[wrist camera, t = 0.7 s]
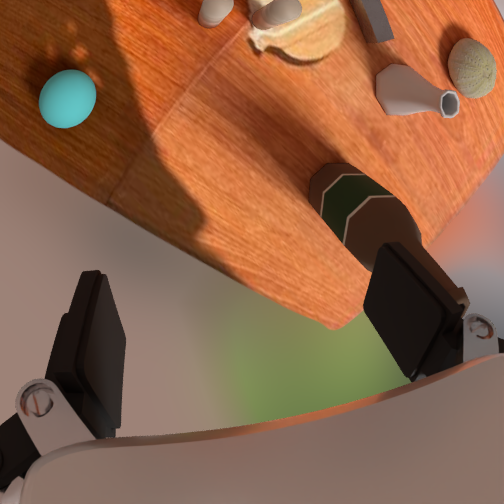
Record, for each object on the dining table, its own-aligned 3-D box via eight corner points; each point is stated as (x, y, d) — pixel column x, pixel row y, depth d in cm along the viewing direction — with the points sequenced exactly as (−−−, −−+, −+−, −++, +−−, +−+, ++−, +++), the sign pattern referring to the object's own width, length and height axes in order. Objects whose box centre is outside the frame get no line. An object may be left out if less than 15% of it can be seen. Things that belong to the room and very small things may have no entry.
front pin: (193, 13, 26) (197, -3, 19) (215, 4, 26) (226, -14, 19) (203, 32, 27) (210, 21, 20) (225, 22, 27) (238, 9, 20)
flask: (367, 69, 32) (419, 78, 24) (411, 57, 32) (465, 66, 24) (381, 122, 36) (431, 144, 28) (422, 108, 36) (474, 127, 28)
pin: (248, 14, 27) (268, -1, 20) (268, 7, 27) (294, -9, 20) (257, 32, 28) (280, 24, 21) (277, 25, 28) (306, 15, 21)
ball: (43, 91, 26) (19, 97, 21) (86, 58, 26) (67, 57, 21) (68, 132, 29) (49, 146, 24) (111, 101, 29) (98, 109, 24)
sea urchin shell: (439, 59, 31) (490, 45, 24) (435, 39, 34) (479, 26, 28) (464, 113, 35) (511, 102, 29) (459, 87, 38) (500, 76, 32)
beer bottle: (314, 224, 42) (413, 365, 23) (297, 173, 38) (415, 307, 18) (364, 201, 42) (483, 320, 22) (352, 150, 38) (497, 255, 18)
